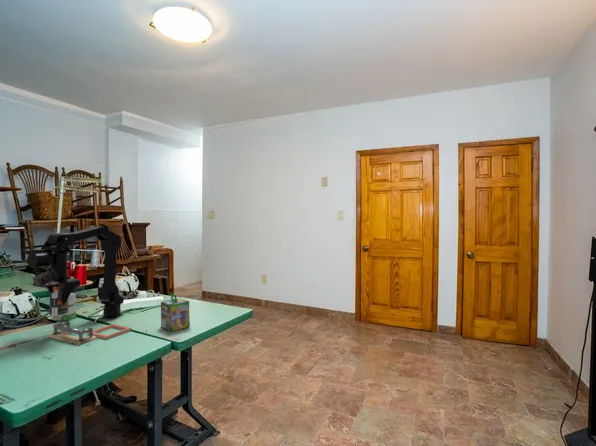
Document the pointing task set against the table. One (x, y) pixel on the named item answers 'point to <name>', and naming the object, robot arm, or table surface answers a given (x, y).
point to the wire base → (71, 338)
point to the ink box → (71, 309)
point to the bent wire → (72, 329)
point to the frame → (102, 336)
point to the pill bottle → (57, 303)
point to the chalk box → (175, 314)
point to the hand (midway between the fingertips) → (58, 302)
